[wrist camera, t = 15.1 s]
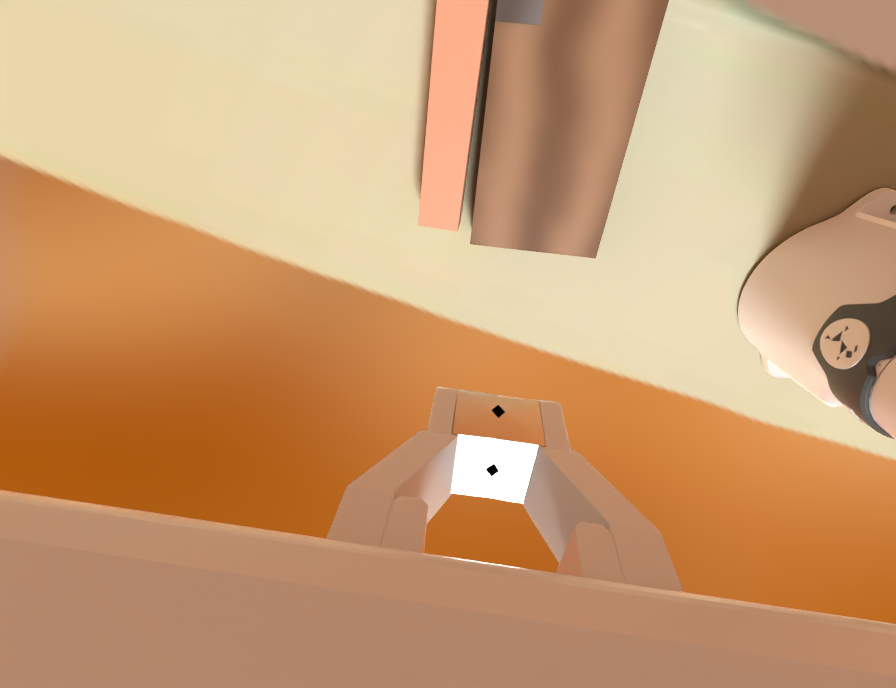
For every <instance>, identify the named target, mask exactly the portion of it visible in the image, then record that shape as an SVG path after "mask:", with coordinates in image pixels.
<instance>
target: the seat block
mask: <svg viewBox="0 0 896 688" xmlns="http://www.w3.org/2000/svg"><path fill="white" fill-rule="evenodd" d="M668 1H669V0H497V9H496V18H495V28H494V36H493V45H492V54H491V63H490V72H489V81H488V90H487V99H486V107H485V116H484V125H483V134H482V143H481V152H480V161H479V170H478V178H477V187H476V196H475V205H474V214H473V223H472V232H471V241H470V244H474V245H482V246H491V247H500V248H509V249H518V250H527V251H536V252H545V253H553V254H562V255H571V256H580V257H589V258H596V255H597V251H598V248H599V244H600V241H601V237H602V234H603V230H604V227H605V223H606V220H607V216H608V213H609V209H610V206H611V202H612V199H613V195H614V192H615V188H616V184H617V181H618V177H619V174H620V170H621V167H622V163H623V160H624V156H625V153H626V149H627V146H628V142H629V139H630V135H631V132H632V128H633V125H634V121H635V118H636V114H637V110H638V107H639V103H640V100H641V96H642V93H643V89H644V86H645V82H646V79H647V75H648V72H649V68H650V65H651V61H652V58H653V54H654V51H655V47H656V44H657V40H658V36H659V33H660V29H661V26H662V22H663V19H664V15H665V12H666V8H667V5H668Z"/></svg>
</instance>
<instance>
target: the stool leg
mask: <svg viewBox="0 0 896 688" xmlns="http://www.w3.org/2000/svg"><path fill="white" fill-rule="evenodd" d="M489 10H490V0H437V4H436V16H435V28H434V40H433V52H432V64H431V76H430V88H429V101H428V113H427V125H426V137H425V149H424V161H423V173H422V185H421V197H420V209H419V221H418V225H419V226H426V227H432V228H439V229H446V230H452V231H458V228H459V225H460V222H461V214H462V207H463V200H464V193H465V185H466V178H467V171H468V163H469V156H470V149H471V142H472V134H473V127H474V120H475V112H476V105H477V98H478V90H479V83H480V76H481V69H482V61H483V54H484V47H485V39H486V32H487V25H488V18H489Z"/></svg>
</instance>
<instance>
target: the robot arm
mask: <svg viewBox="0 0 896 688" xmlns="http://www.w3.org/2000/svg"><path fill="white" fill-rule="evenodd" d="M894 205H895V208H894V209H893V210H892V211H890V210H891V208H892V207H893V206H894ZM738 319H739V324H740V327H741V330H742V332H743V334H744V335H745V337H746V338H747V339H748V340H749V341H750V342H751V343H752V344H753V345H754V346H755V347H756V348H757V349H758V351H759V352H760V355H761V360H762V364H763V367H764V369H765V371H767V372H768V373H769V374H771V375H772V376H774V377H778V378H785V377H790V378H791V379H793V380H794V381H795V382H797V383H798V384H799V385H801V386H802V387H803V388H805V389H806V390H807V391H809V392H810V393H811V394H813V395H814V396H815V397H817V398H818V399H820V400H821V401H822V402H824V403H825V404H827V405H830V406H833V407H835V406H845V407H846V408H847V409H848V411H849V412H850V413H851V414H853V415H854V416H855V417H856V418H858V419H859V420H860V421H862V422H863V423H866V424H867V425H868V426H870V427H872V428H873V429H874V430H876V431H877V432H879V433H881V434H882V435H884V436H887V437H890V438H893V439H896V190H893V189H890V188H879V189H876V190H874V191H872V192H870V193H868V194H867V195H865V196H864V197H862V198H861V199H859V200H858V201H857V202H855V203H854V204H853V205H851V206H850V207H849V208H847V209H846V210H845V211H843V212H842V213H841V214H839V215H837V216H835V217H833V218H830V219H828V220H825V221H823V222H820V223H818V224H815V225H813V226H811V227H808V228H806V229H804V230H802V231H800V232H799V233H797V234H795V235H793V236H792V237H790V238H789V239H787V240H786V241H784V242H783V243H781V244H780V245H779V246H777V247H776V248H775V249H774V250H773V251H772V252H770V253H769V254H768V255H767V256H766V257H765V258H764V259H763V260H762V261H761V263H760V264H759V265H758V266H757V267H756V269H755V270H754V271H753V273H752V274H751V276H750V277H749V279H748V280H747V282H746V284H745V286H744V288H743V291H742V294H741V297H740V300H739V306H738ZM456 398H457V400H456ZM451 493H456V494H464V495H473V496H482V497H489V498H495V499H501V500H507V501H513V502H518V503H523V506H524V507H525V509H526V511H527V512H528V514H529V516H530V517H531V519H532V520H533V522H534V524H535V525H536V527H537V528H538V530H539V532H540V533H541V535H542V536H543V538H544V540H545V541H546V543H547V544H548V546H549V548H550V549H551V551H552V552H553V554H554V556H555V557H556V559H557V560H558V562H559V567H558V569H557V572H556V573H551V572H545V571H538V570H531V569H525V568H518V567H511V566H505V565H498V564H491V563H484V562H478V561H471V560H465V559H458V558H452V557H445V556H438V555H432V554H424V546H425V534H426V524H427V523H428V522H429V520H430V519H431V518H432V517H433V515H434V514H435V513H436V512H437V511H438V510H439V509H440V507H441V506H442V505H443V503H444V502H445V501H446V500H447V499H448V498H449V497H450V495H451ZM0 688H896V624H891V623H884V622H878V621H871V620H865V619H857V618H852V617H845V616H838V615H832V614H825V613H818V612H812V611H805V610H798V609H791V608H785V607H778V606H771V605H765V604H758V603H752V602H745V601H738V600H732V599H725V598H718V597H712V596H705V595H699V594H692V593H685V592H683V590H682V587H681V584H680V582H679V579H678V577H677V574H676V572H675V569H674V566H673V564H672V561H671V559H670V556H669V553H668V551H667V548H666V545H665V543H664V541H663V538H662V535H661V533H660V531H659V530H658V529H657V528H656V527H655V526H654V525H653V524H652V523H651V522H649V520H648V519H646V518H645V517H644V516H643V515H642V514H641V513H640V512H639V511H638V510H637V509H636V508H635V507H634V506H633V505H632V504H631V503H630V502H629V501H628V500H627V499H626V498H625V497H624V496H623V495H622V494H621V493H620V492H618V490H617V489H616V488H615V487H614V486H613V485H612V484H611V483H609V482H608V481H607V480H606V479H605V478H604V477H603V476H602V475H601V474H600V473H599V472H598V471H597V470H596V469H595V468H594V467H593V466H592V465H591V464H590V463H589V462H588V461H587V460H586V459H585V458H584V457H583V456H582V455H581V454H580V453H579V452H577V451H571V447H570V443H569V439H568V434H567V430H566V425H565V421H564V417H563V412H562V408H561V404H560V403H559V402H554V401H545V400H530V399H522V398H514V397H506V396H498V395H494V394H487V393H481V392H474V391H467V390H461V389H458V393H457V389H452V388H446V387H439V386H438V387H437V388H436V392H435V396H434V401H433V405H432V410H431V415H430V419H429V424H428V429H427V431H424V430H421V431H419V432H418V433H417V434H415V435H414V436H413V437H412V438H410V439H409V440H407V441H406V442H405V443H404V444H402V445H401V446H400V447H398V448H397V449H396V450H394V451H393V452H392V453H390V454H389V455H388V456H386V457H385V458H384V459H383V460H381V461H380V462H379V463H377V464H376V465H374V466H373V467H372V468H371V469H369V470H368V471H367V472H365V473H364V474H363V475H361V476H360V477H359V478H358V479H356V480H355V481H353V482H352V483H351V484H350V485H349V486H347V488H346V490H345V493H344V495H343V498H342V500H341V503H340V505H339V508H338V510H337V513H336V515H335V518H334V521H333V523H332V526H331V528H330V531H329V533H328V536H327V538H326V539H324V538H318V537H311V536H304V535H298V534H291V533H285V532H278V531H271V530H265V529H258V528H251V527H245V526H237V525H231V524H224V523H218V522H211V521H205V520H198V519H191V518H185V517H178V516H171V515H164V514H158V513H151V512H144V511H137V510H131V509H124V508H117V507H111V506H104V505H97V504H90V503H84V502H77V501H71V500H64V499H57V498H51V497H44V496H37V495H30V494H24V493H17V492H10V491H4V490H0Z"/></svg>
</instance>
